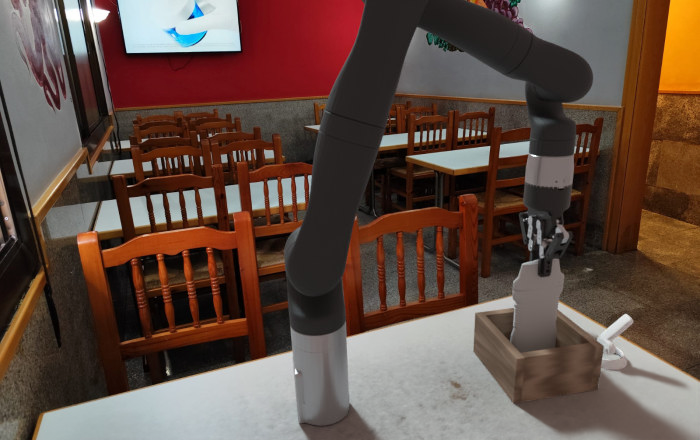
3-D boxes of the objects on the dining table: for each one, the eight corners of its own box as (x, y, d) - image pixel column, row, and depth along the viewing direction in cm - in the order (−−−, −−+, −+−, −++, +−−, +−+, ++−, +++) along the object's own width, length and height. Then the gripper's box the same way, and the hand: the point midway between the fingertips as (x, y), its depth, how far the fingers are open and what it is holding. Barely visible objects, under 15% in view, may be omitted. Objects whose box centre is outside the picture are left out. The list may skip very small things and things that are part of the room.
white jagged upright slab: (548, 353, 95) (558, 251, 89) (561, 365, 92) (574, 259, 85) (500, 363, 93) (508, 258, 86) (512, 375, 89) (521, 267, 82)
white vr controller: (665, 345, 90) (643, 332, 87) (616, 385, 94) (594, 373, 91) (640, 318, 96) (618, 305, 94) (595, 357, 100) (574, 345, 98)
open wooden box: (513, 403, 84) (516, 358, 81) (473, 351, 99) (475, 312, 96) (597, 389, 86) (603, 346, 83) (546, 341, 102) (549, 303, 99)
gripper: (507, 173, 87) (501, 261, 92) (551, 191, 74) (541, 292, 79) (545, 170, 88) (537, 257, 94) (595, 187, 75) (582, 287, 81)
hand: (539, 272), depth 86 cm, fingers closed on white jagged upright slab, 2 cm apart
